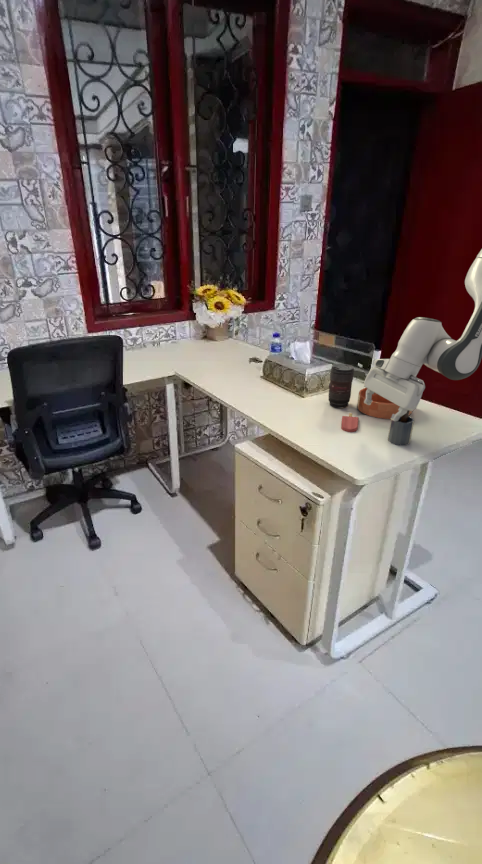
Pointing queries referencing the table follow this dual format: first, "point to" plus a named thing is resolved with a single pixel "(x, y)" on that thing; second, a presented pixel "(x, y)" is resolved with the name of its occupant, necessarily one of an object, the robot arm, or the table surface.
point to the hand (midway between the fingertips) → (379, 411)
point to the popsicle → (349, 423)
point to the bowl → (377, 406)
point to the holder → (400, 431)
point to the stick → (405, 417)
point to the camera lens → (340, 385)
